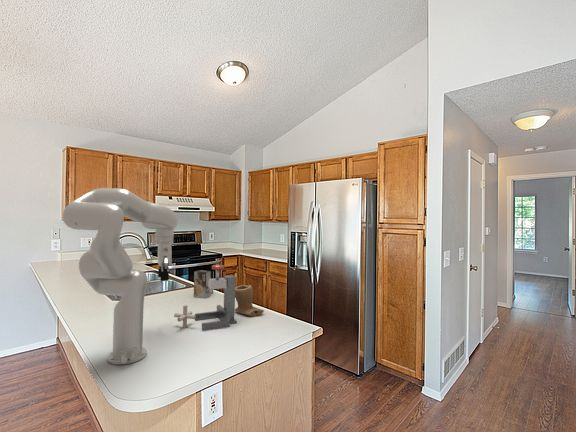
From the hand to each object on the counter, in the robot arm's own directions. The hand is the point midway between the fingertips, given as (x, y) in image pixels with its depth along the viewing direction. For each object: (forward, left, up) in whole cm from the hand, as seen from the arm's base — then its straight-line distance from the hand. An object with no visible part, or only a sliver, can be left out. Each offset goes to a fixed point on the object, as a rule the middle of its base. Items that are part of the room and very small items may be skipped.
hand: (163, 278), depth 137 cm
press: (0, -25, -23) cm, 34 cm away
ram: (0, -25, -9) cm, 26 cm away
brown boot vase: (+7, -43, -23) cm, 49 cm away
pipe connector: (0, -10, -23) cm, 25 cm away
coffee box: (+50, -30, -23) cm, 63 cm away
